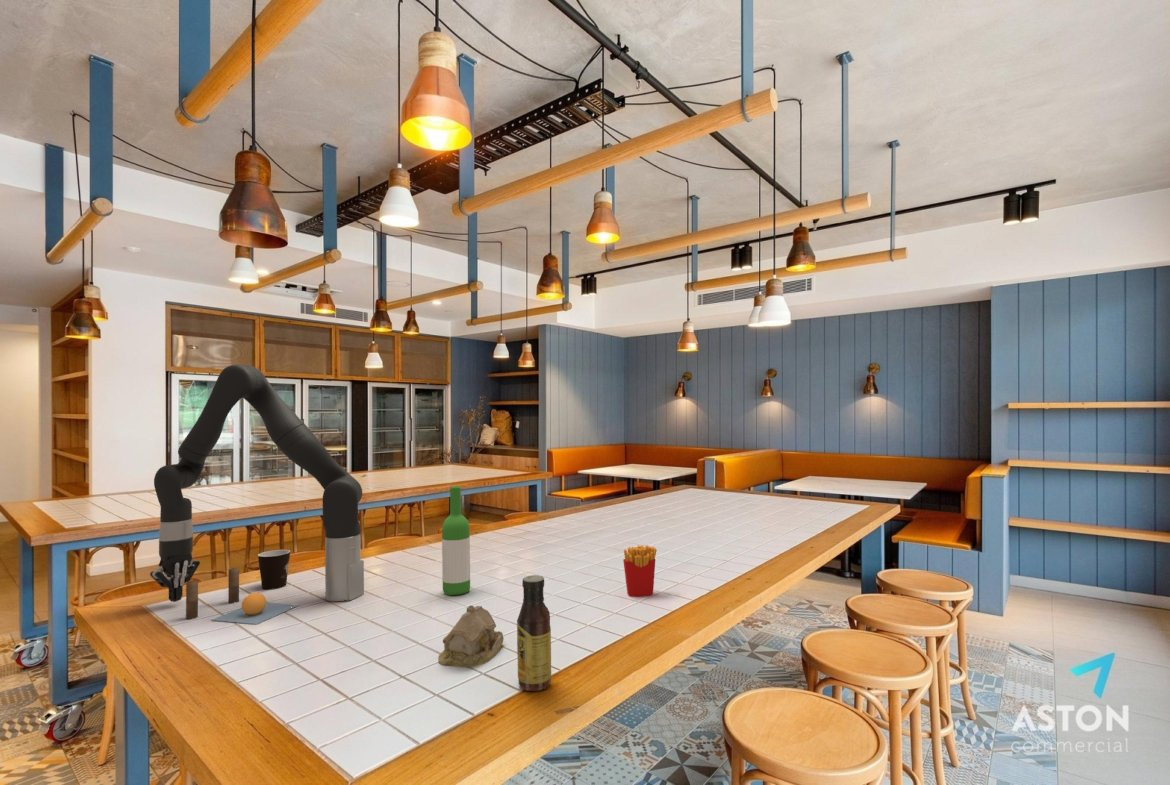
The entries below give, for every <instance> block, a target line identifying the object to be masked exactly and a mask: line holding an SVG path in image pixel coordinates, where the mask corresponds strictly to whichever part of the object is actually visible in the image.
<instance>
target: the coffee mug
mask: <svg viewBox="0 0 1170 785" xmlns="http://www.w3.org/2000/svg"><path fill="white" fill-rule="evenodd" d="M290 557H291V550H290V549H275V550H268V551H264V552H263V551H262V552H261V553H258V554H257V559H258V566H259V574H260V580H261V588H262V590H267V591H268V590H278V589H281V588H283V587H287V580H288V572H289V564H290V559H291V558H290Z"/></svg>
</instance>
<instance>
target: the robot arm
mask: <svg viewBox="0 0 1170 785" xmlns="http://www.w3.org/2000/svg"><path fill="white" fill-rule="evenodd" d="M241 399H243V400H245V401H246V402H247V403H248V404H249V405H250V406H252V408H253V409H254V410H255V411H256V412H257V413H258V414H259V416H260V417H261V419H262V422H263V423H264V426H265V430H266V432H267V434H268V435H269V438H270V440H272V443H274V444H275V446H277V448H278V449H279V450H280V451H281V452H282V453H283V454H284V455H285V457H287V458H288V459H289V460H290V461H291V462H292V463H294V465H297V466H298V467H300V468H301V469H303V470H304V471H305V472H307V473H308V474H310V475H311V476H312V477H313V478H314V479H315V480H316V481H317V483H319V485H320V486H321V488H323V494H322V523H323V524H322V525H323V528H324V533H325V535H324V536H325V538H324V539H325V540H324V541H325V542H324V544H325V547H324V548H325V549H324V550H325V551H324V552H325V553H324V554H325V555H324V557H325V558H324V559H325V560H324V563H325V564H324V565H325V568H324V569H325V572H324V573H325V575H324V576H325V579H324V580H325V581H324V582H325V583H324V584H325V585H324V586H325V587H324V588H325V600H326V601H328V602H344V600H346V601H349V600H350V601H352V600H355V599H356V598H359V597H360V596H362V595H364V594H365V561H364V560H363V559H362V558H361V554H362V553H361V549H362V548H361V546H362V544H361V531H362V530H361V523H360V521H359V506H358V505H359V503H360V502H361V500H362V497H363V488H362V486H361V484H360V482H359V481H358V480H357V479H356V478H354V477H353V476H352V475H351V474H350V473H349V472H347V470H346V469H344V467H342V466H341V465H340V464H339V463H338V462H337V461H336V460H335V459H334V457H333V456H332V455H331V453H330V452H329V451H328V450H327V448H326V447H325V446H324V445H323V443H321V441H320V440H319V439H318V438H317V436H316V435H315V434H314V433H313V432H312V430H311V429H310V428H309V427H308V425H306V424H305V422H303V420H301V419H300V417H299V416H298V415H297V414H296V413H295V412H294V411H293V410H292V409H291V407H290V406H289V405H288V404H287V403H286V402H284V401H283V399H282V398H281V397H280V396H279V394H278V393H277V391H276V390H275V389H274V387H273V386H272V385H271V383H270V382H269V380H268V379H267V378H266V376H265V374H264V373H263V371H261V370H260V369H259V368H257V367H255V366H253V365H249V364H231V365H228V366H226V367H224V369H223V370H221V371H220V373H219V375H218V377H217V379H216V381H215V383H214V384H213V388H212V391H211V392H210V395H209V397H208V399H207V401H206V403H205V406H203V407H204V408H203V410H202V411H201V413H200V415H199V417H198V418H197V420H196V421H195V423H194V425H193V426H192V428H191V429H190V431H189V432H188V434H187V435H186V437H185V438H184V440H183V441H182V443H180V446H179V448H178V450H177V454H178V456H179V457H180V458H181V459H180V460H179V462H177V463H176V464H175V463H174V464H167V465H163V466H161V467H160V468H158V469H157V471H156V472H155V474H154V478H153V486H154V491H155V494H156V497H157V501H158V503H159V506H160V512H159V513H160V514H159V515H160V518H159V519H160V522H159V523H160V524H159V529H158V530H159V531H158V556H159V557H160V561H159V563H158V567H157V569H155V570H154V571H151V572H150V573H149V575H150V577H151V578H152V579H153V580H154V581H155V582H156V583H157V584H158V585H159V587H161V588H167V589H168V600H169V601H170V602H179V601H181V600H182V598H183V594H184V593H183V590H184V589H183V586H184V585H185V584H186V583H187V582H190V581H191V579H192V578H193V576H194V574H195V572H196V571H197V570H198V568H199V566H200V563H201V561H199V560H195V559H193V555H192V552H193V550H194V548H193V545H194V543H193V542H194V537H193V536H194V533H193V532H194V529H193V528H194V526H193V506H192V501H191V499H189V498H188V497H184V495H183V492H182V489H187V488H189V487H191V486H193V485H194V484H195V483H196V482H197V481H198V479H200V476H201V474H202V471H203V468H204V465H205V464H206V463H205V462H206V460H207V457H209V455H210V453H211V451H212V450H213V449H214V448H215V446H216V445H217V443H218V441H219V439H220V437H221V435H222V432H223V429H224V425H225V422H226V420H227V417H228V415H229V414H230V412H231V410H232V409H233V407H235V405H236V404H237V403H239V401H240V400H241Z"/></svg>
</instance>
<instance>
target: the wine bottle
mask: <svg viewBox="0 0 1170 785" xmlns="http://www.w3.org/2000/svg"><path fill="white" fill-rule="evenodd" d="M461 491H462V490H461V486H459V485H454V486H453V485H452V486H450V488H449V505H450V506H449V508H450V509H449V510H450V511H449V516H448V517H447V518H445V520H444V521H443V523H442V527H441V547H442V548H441V549H442V551H441V552H442V553H441V558H442V559H441V560H442V561H441V562H442V565H441V566H442V567H441V568H442V570H441V571H442V577H441V578H442V591H443V593H444V594H445V595H447V596H461V595H464V594H466V593H468V592H469V591H470V589H471V539H470V537H471V535H470V533H471V532H470V523H469V521H468V519H467V518H466V517H465V516H464V515H463V514H462V501H461V500H462V498H461V497H462V494H461Z"/></svg>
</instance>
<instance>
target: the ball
mask: <svg viewBox="0 0 1170 785" xmlns="http://www.w3.org/2000/svg"><path fill="white" fill-rule="evenodd" d="M266 602H267V599H266V596H264V594H263V593H259V592H252V593H249V594H248V595H247V596H245V597H244V598H243V599H242V602H241V608H242V610H243V612H244V613H246V614H248V615H256V614H259V613H260V612H261V611H262V610H263V609H264V608H265V606H266Z"/></svg>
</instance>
